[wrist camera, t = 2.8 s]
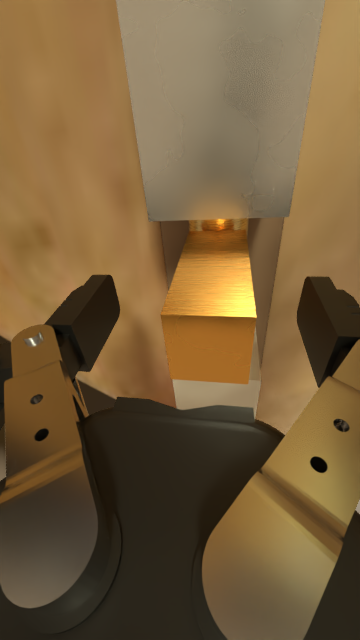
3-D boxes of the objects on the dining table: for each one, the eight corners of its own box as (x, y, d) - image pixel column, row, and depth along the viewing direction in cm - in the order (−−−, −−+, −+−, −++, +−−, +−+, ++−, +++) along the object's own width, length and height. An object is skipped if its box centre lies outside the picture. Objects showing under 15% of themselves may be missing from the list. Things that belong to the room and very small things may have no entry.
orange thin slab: (268, -87, 9) (476, -1159, 1) (239, 308, 20) (245, 442, 12) (178, -68, 10) (-35, -777, 2) (196, 307, 20) (175, 434, 12)
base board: (338, -161, 10) (347, -185, 9) (258, 368, 27) (259, 375, 26) (125, -109, 11) (117, -124, 10) (180, 363, 28) (178, 370, 27)
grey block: (314, -176, 9) (405, -481, 4) (271, 184, 16) (288, 216, 11) (142, -131, 10) (65, -339, 5) (171, 189, 17) (148, 221, 12)
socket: (255, 323, 22) (261, 380, 17) (250, 364, 25) (254, 422, 21) (183, 321, 23) (171, 374, 18) (187, 361, 26) (177, 415, 22)
